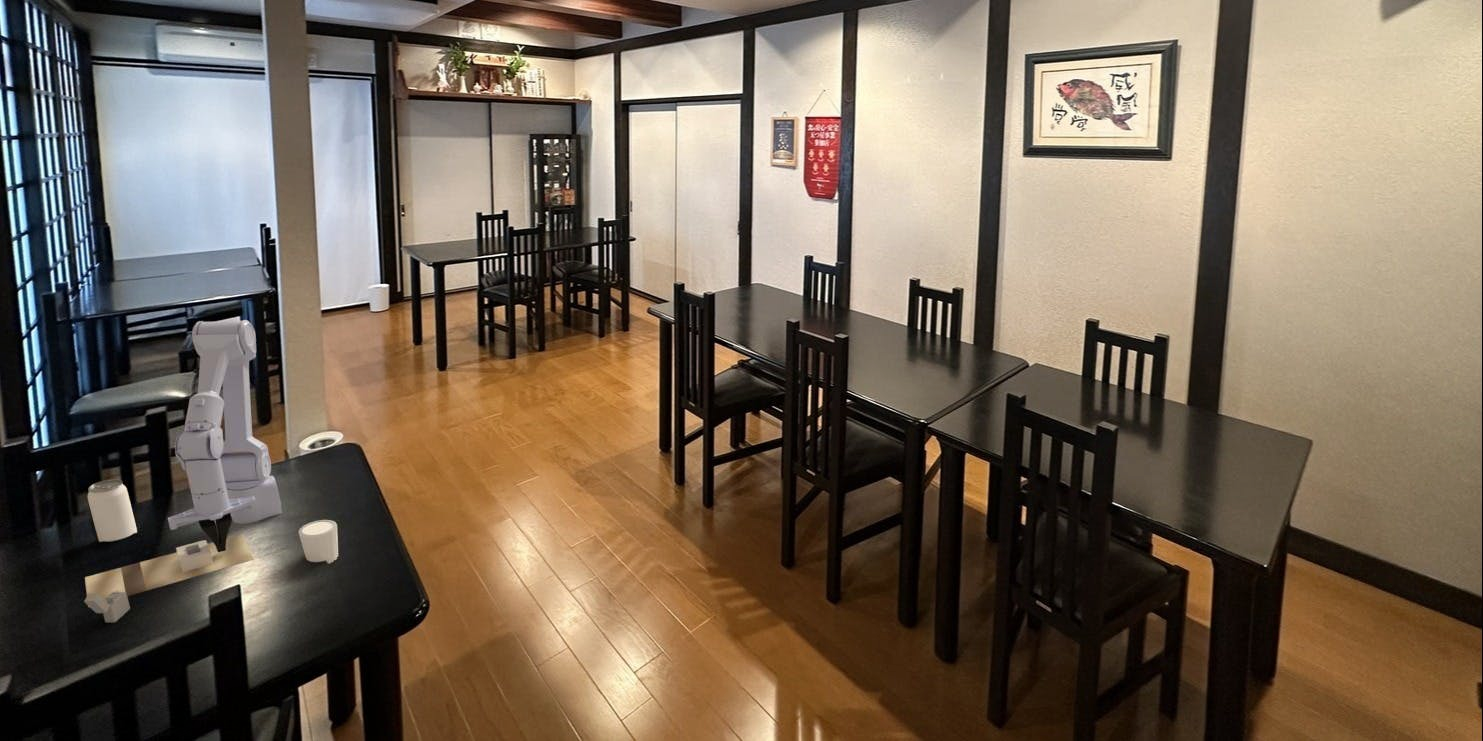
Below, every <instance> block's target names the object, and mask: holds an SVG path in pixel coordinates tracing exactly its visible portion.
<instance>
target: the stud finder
mask: <svg viewBox="0 0 1483 741" xmlns="http://www.w3.org/2000/svg"><path fill="white" fill-rule="evenodd" d="M208 544H209V543H208V541H207V540H206V539H205V540H204V539H203V540H199V541H196V542H193V543H188V544H184V545H181V546H177V547H175V550H176V552H177V554H178V559H179V562H180V565H181V568H182V572H186V571H189V570H193V569H196V568H199V567H203V566H206V565H210V564H213V561H212V556H211V552H210V549H209V547H208Z"/></svg>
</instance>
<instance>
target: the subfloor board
mask: <svg viewBox="0 0 1483 741" xmlns="http://www.w3.org/2000/svg"><path fill="white" fill-rule="evenodd" d="M207 544H208V547H209V549H210V552H211V556H212V561H213V564H210V565H206V566H203V567H199V568H196V569H193V570H189V571H186V572H182V568H181V565H180V562H179V559H178V554H177V551H176V552H173V553H169V554H165V555H162V556H158V557H155V558H151V559H148V560H143V561H139V562H136V563H132V564H129V565H125V566H122V567H121V566H120V567H119V568H118V567H117V568H115V569H110V570H106V571H103V572H99V573H96V574H93V575H89V576H85V577H84V581H85V582H84V583H85V590H86V597H87V596H88V594H99V595H100V596H101V597H102V598H103V599H104V600H105V601H107V600H106V597H107V596H108V595H109V594H111V593H112V592H116V591H118V592H126V594H127V597H131V596H133V595H134V596H135V595H136V594H140V593H143V592H146V591H151V590H153V589H157V588H161V587H164V586H167V585H172V584H175V583H178V582H181V581H182V582H183V581H185V580H188V579H191V578H192V579H193V578H195V577H199V576H201V575H206V574H208V573H212V572H215V571H218V570H223V569H227V568H229V567H233V566H236V565H240V564H243V563H247V562H250V561H253V560H255V558H254V556H253V554H252V552H251V550H250V548H249V546H248V543H247V541H246V540H245V538H244V535H243V534H239V535H235V536H231V537H227V539H226V550H225V551H222V552H218V551H217V549H216V546H215V544H214V543H213V542H209V543H207ZM87 608H90V607H89V606H88V605H87Z"/></svg>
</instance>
